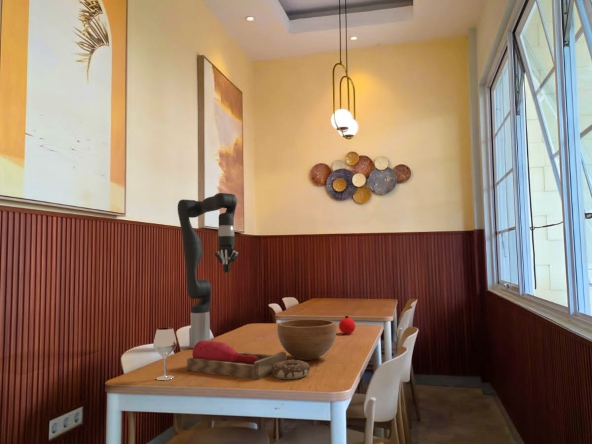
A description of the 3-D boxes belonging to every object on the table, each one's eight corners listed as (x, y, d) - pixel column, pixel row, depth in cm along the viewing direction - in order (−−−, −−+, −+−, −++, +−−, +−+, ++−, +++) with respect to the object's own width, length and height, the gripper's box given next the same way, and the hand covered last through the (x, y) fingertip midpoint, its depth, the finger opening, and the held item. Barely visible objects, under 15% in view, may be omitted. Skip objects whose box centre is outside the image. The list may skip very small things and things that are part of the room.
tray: (187, 370, 181) (186, 354, 181) (218, 360, 197) (218, 346, 198) (258, 379, 164) (258, 362, 165) (286, 368, 181) (286, 352, 181)
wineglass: (156, 376, 173) (156, 327, 175) (178, 375, 174) (178, 326, 175) (151, 381, 165) (151, 330, 167) (174, 380, 166) (174, 329, 167)
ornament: (356, 335, 252) (355, 316, 253) (339, 335, 253) (339, 317, 253) (354, 332, 261) (353, 314, 262) (338, 333, 261) (338, 315, 262)
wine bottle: (198, 369, 187) (255, 380, 170) (186, 352, 183) (243, 362, 166) (212, 350, 194) (268, 359, 177) (201, 334, 190) (257, 341, 172)
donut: (297, 382, 160) (296, 368, 160) (264, 378, 167) (264, 364, 167) (317, 373, 172) (316, 359, 172) (285, 369, 179) (285, 356, 179)
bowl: (343, 354, 203) (342, 319, 205) (328, 367, 180) (327, 328, 181) (289, 352, 212) (289, 318, 213) (269, 364, 188) (268, 326, 189)
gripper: (210, 235, 217) (210, 273, 216) (232, 234, 210) (233, 272, 209) (220, 236, 224) (220, 272, 222) (242, 235, 217) (243, 272, 216)
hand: (226, 272), depth 216 cm, fingers closed
